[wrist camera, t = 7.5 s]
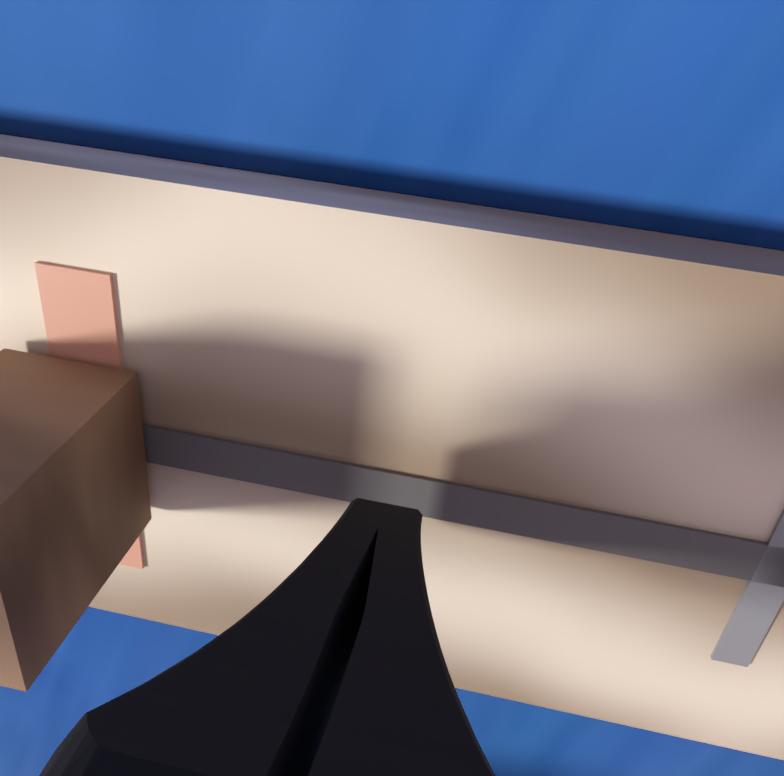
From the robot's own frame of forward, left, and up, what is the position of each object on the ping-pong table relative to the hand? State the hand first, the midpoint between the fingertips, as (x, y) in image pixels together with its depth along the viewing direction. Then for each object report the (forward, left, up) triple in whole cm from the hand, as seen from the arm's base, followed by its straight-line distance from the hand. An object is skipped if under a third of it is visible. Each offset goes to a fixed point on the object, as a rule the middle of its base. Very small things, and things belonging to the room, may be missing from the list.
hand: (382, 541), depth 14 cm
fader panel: (0, 0, -3) cm, 3 cm away
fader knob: (0, +7, -1) cm, 7 cm away
